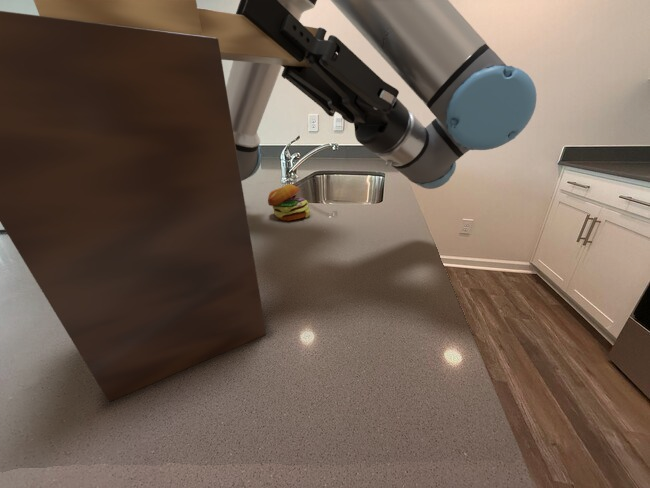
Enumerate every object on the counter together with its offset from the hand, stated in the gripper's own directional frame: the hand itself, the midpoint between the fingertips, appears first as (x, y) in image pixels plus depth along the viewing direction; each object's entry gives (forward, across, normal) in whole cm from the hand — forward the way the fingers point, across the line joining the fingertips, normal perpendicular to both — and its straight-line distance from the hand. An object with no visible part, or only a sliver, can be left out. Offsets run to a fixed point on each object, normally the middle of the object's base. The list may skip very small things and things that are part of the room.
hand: (242, 4), depth 24 cm
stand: (-6, 0, -36) cm, 36 cm away
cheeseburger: (-32, +33, -21) cm, 51 cm away
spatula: (+1, 0, -5) cm, 5 cm away
